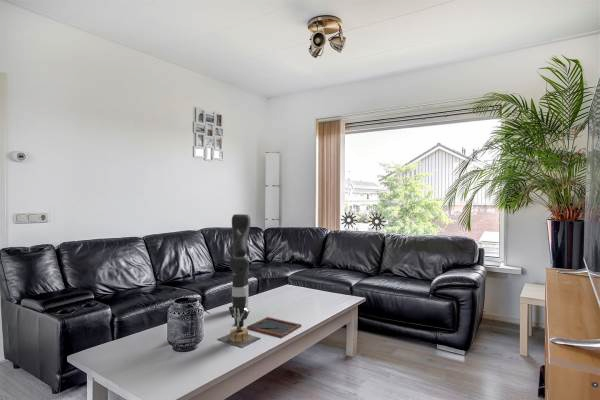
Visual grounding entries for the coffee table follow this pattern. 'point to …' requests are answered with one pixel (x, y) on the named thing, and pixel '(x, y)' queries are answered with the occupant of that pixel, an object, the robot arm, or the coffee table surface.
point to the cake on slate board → (239, 338)
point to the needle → (238, 324)
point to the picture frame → (274, 327)
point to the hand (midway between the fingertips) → (239, 326)
